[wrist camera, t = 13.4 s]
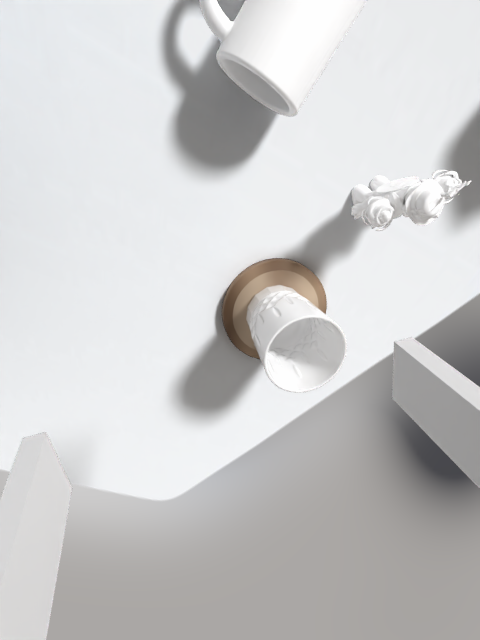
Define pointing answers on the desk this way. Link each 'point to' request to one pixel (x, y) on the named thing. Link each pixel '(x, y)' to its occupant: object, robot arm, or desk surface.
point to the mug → (280, 45)
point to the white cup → (295, 339)
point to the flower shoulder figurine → (404, 198)
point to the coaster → (256, 281)
